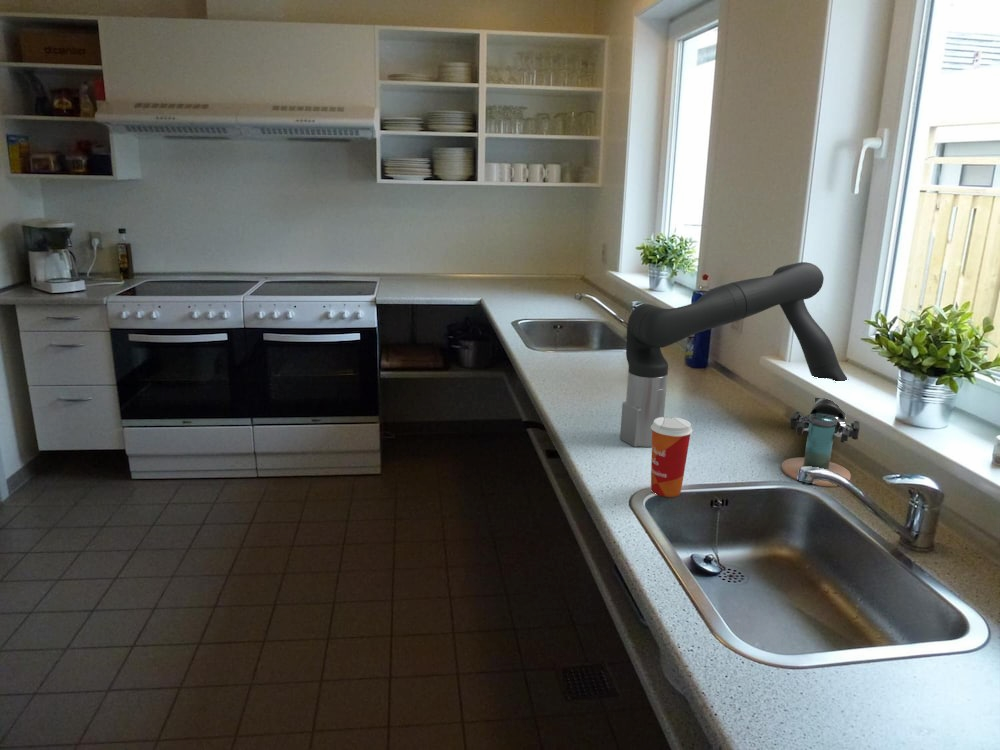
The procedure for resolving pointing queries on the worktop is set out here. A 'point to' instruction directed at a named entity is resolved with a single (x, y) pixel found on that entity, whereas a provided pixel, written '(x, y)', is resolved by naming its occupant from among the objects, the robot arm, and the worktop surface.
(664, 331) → the robot arm
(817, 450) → the canister
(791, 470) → the dish
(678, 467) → the coffee cup
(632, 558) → the worktop surface
